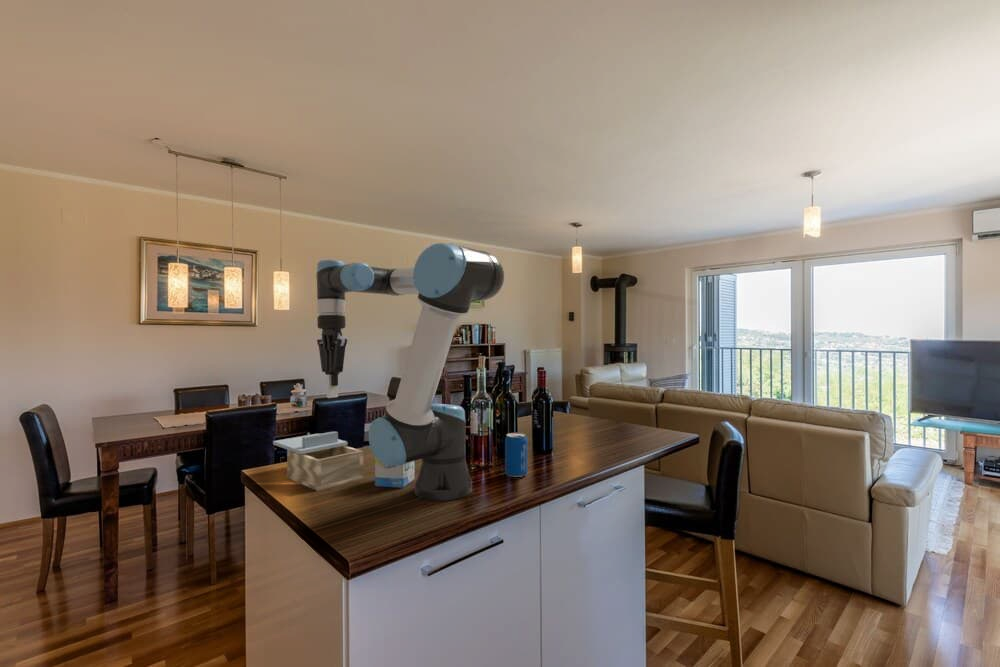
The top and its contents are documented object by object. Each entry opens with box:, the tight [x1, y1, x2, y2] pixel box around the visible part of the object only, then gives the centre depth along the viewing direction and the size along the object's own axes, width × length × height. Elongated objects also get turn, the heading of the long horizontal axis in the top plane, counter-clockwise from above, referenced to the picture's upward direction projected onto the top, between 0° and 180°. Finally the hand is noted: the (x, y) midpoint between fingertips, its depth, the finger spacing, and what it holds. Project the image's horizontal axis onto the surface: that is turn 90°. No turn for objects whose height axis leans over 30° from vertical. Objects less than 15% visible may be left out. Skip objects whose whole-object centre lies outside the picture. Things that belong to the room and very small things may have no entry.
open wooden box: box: [286, 445, 364, 492], centre depth 133 cm, size 18×14×8 cm
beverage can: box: [504, 432, 528, 477], centre depth 134 cm, size 6×6×12 cm
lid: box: [272, 431, 348, 454], centre depth 139 cm, size 18×14×4 cm
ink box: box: [374, 457, 415, 489], centre depth 129 cm, size 8×8×12 cm
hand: (332, 397), depth 130 cm, fingers closed
